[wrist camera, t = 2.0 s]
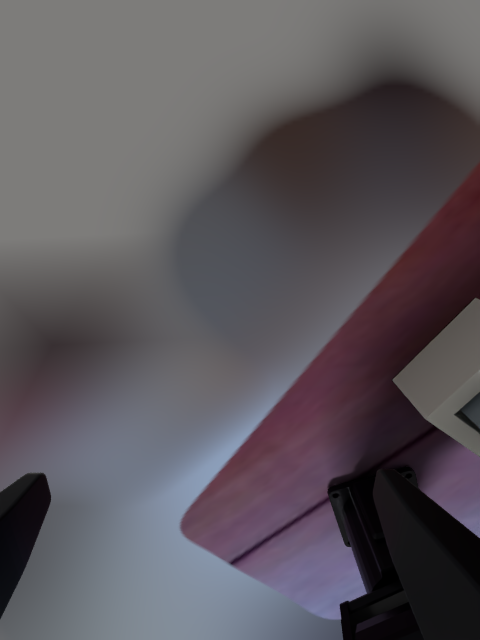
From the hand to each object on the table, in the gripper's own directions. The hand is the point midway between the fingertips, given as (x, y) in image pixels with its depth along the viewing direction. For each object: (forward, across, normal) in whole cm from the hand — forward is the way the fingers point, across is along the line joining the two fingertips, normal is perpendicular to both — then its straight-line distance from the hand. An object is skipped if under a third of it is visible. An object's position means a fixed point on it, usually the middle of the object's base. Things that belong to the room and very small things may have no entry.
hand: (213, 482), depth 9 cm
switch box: (+12, -16, +3) cm, 20 cm away
